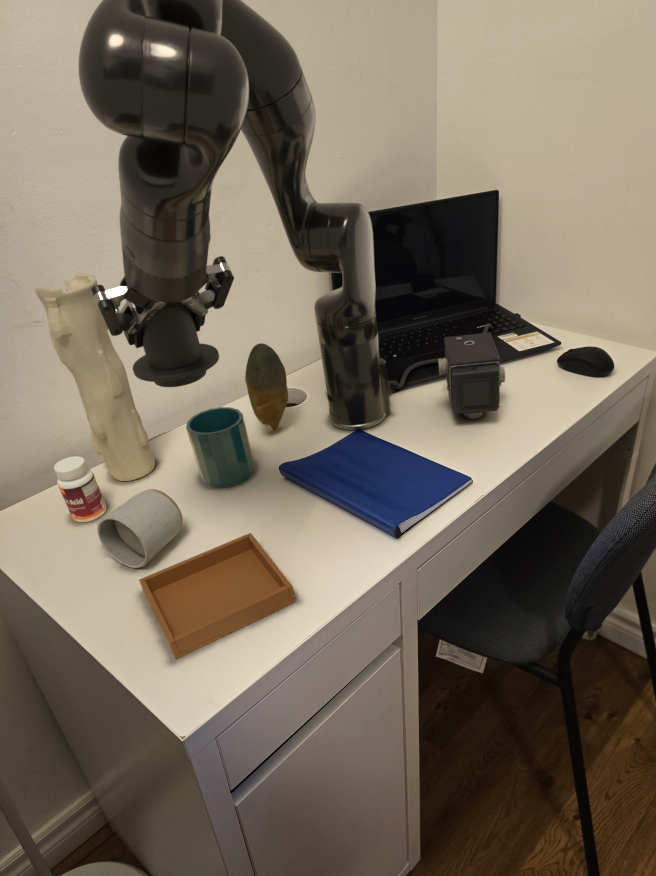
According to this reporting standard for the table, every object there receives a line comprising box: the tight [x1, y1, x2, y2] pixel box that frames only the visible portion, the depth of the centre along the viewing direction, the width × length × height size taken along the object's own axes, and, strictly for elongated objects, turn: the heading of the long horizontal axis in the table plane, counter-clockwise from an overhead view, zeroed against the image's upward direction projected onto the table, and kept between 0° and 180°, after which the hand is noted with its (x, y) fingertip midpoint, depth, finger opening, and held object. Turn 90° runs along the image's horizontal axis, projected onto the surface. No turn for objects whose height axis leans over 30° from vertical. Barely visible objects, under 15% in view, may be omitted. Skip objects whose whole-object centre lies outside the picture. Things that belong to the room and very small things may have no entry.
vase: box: [34, 272, 156, 482], centre depth 94 cm, size 9×8×30 cm
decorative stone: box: [244, 343, 289, 432], centre depth 104 cm, size 10×6×15 cm, turn 166°
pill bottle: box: [53, 455, 107, 523], centre depth 91 cm, size 5×5×8 cm
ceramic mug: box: [96, 488, 184, 569], centre depth 84 cm, size 11×8×8 cm
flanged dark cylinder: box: [132, 305, 220, 388], centre depth 73 cm, size 10×10×9 cm
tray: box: [138, 532, 297, 660], centre depth 76 cm, size 14×12×2 cm
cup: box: [185, 406, 256, 489], centre depth 96 cm, size 8×8×9 cm
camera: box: [437, 331, 506, 419], centre depth 105 cm, size 11×11×15 cm
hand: (164, 332), depth 74 cm, fingers closed on flanged dark cylinder, 6 cm apart
